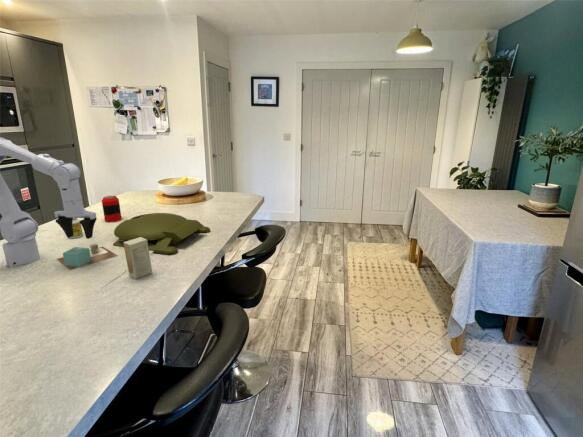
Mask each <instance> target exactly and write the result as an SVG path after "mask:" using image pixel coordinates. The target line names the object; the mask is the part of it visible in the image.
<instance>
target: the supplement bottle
mask: <svg viewBox="0 0 583 437" xmlns="http://www.w3.org/2000/svg"><path fill="white" fill-rule="evenodd" d="M79 221H81V219H80V218H73V220H72V227H73V236H72V237H70V239H77V238H81V237H83V227H82V225H81V223H80V222H79Z"/></svg>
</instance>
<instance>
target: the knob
mask: <svg viewBox="0 0 583 437" xmlns="http://www.w3.org/2000/svg"><path fill="white" fill-rule="evenodd" d="M90 250H91V249H90V247H79V246H75V247H73V248H70V249H68V250H66V251H64V252H62V257H64V261H65V266H73V267H79V268H82V267H81V266H82V265H84V264H86V263H88V262H90V261H91V255H90ZM65 266H64V267H65Z"/></svg>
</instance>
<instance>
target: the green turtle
mask: <svg viewBox="0 0 583 437" xmlns="http://www.w3.org/2000/svg"><path fill="white" fill-rule="evenodd" d="M210 231H211V227H208V226H204V224H202V223H201V222H200V221H199V220H196V219H188V218H186V217H185V216H182V215H179V214H176V213H168V212H154V213H146V214H140V215H136V216H134V217H131V218H129V219H126V220H123V221H122V222H120V223H119V224H118V225H116V227H115V228H114V230H113V235H114V236H115V237H116V238H118V239H120V240H117V241H114V243H113V244H112V245H113V247H117V248H118V247H119V248H124V243H123V242H126V241H129V240H132V239H136V238H139V237H142V238H144V239H147V241H155V240H157V242H156V244H154V243H148V249H149V252H150V251H151V252H152V253H153V254H160V255H167V256H168V255H169V256H170V255H174V254H177V253H178V248H177V247H175V246H171V245H172V244H173V245H176V244H178V243H179V242H181V241H183V240H184V239H186V238H188V237H189V236H191V235H192V234H194V233H201V234H202V233H203V234H207V233H209V232H210Z"/></svg>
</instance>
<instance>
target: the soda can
mask: <svg viewBox="0 0 583 437" xmlns="http://www.w3.org/2000/svg"><path fill="white" fill-rule="evenodd" d="M101 205H102V212H103V216H104V218H103V219H104V221H105V222H106V223H116V222H120V221H122V217H123V216H122V213H121V212H122V211H121V205H120V199H119V198H118V196H116V195H106V196H104V197H103V198H102V199H101Z"/></svg>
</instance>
